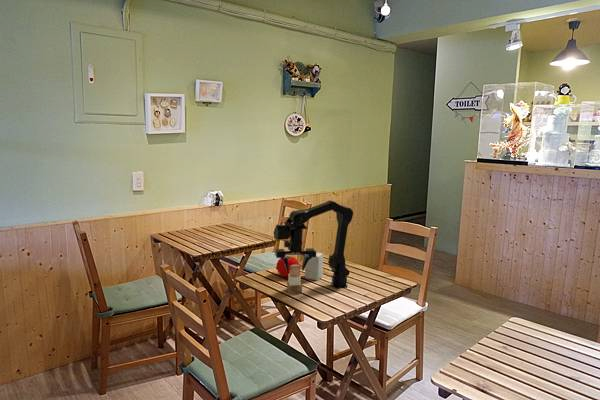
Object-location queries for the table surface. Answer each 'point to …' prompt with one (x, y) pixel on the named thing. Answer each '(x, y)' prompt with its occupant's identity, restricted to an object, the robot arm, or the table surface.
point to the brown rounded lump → (295, 270)
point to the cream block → (294, 280)
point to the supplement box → (314, 267)
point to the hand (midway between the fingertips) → (294, 270)
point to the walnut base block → (294, 289)
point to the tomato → (282, 268)
